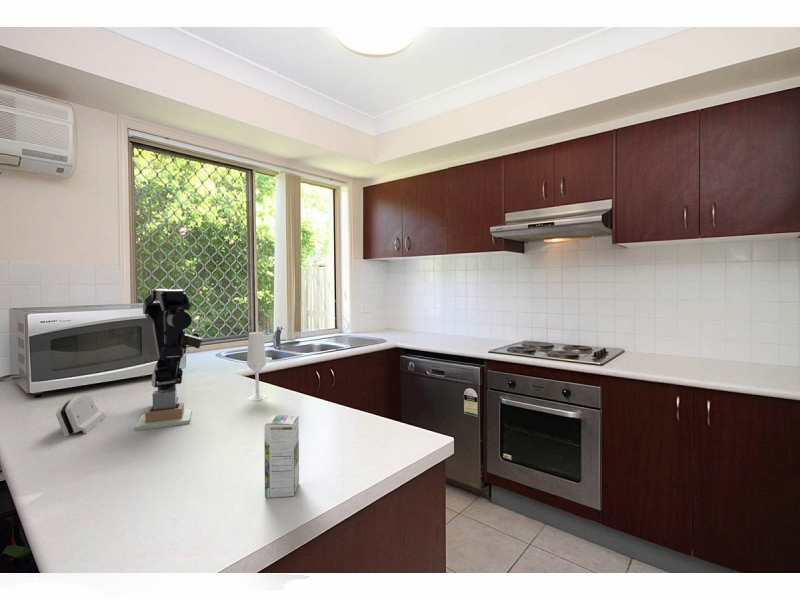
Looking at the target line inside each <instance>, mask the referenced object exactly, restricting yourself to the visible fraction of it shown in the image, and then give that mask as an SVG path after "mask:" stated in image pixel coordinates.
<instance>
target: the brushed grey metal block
mask: <svg viewBox="0 0 800 600" xmlns="http://www.w3.org/2000/svg"><path fill="white" fill-rule="evenodd" d="M151 395H152V406H153V411H159V410H168V409H177V403H178V400H177V397H178V396H177V395H178V393H177V388H176V389H170V390H159V391H158V390H154V391H153V392H152V394H151Z"/></svg>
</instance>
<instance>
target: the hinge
mask: <svg viewBox="0 0 800 600" xmlns="http://www.w3.org/2000/svg"><path fill="white" fill-rule="evenodd" d="M55 416H56V419H57V421H58V423H59V426H60V429H61V431H62V433H63V435H64V437H69V436H71V435H72V434H76V433H79V432H81V431H82V432H83V434H84V435H86V434H85V433H87V432H88V433H89V432H91V431H92V430H93V429H94V428H95V427H96V426H97V424H98V423H99V422H100V421H101V420H102V419H103V420H105V419H106V418H107V415H106V413H105V412H104V411H101V410H99V409H98V406H97V405H96V404H95V401H94V399H93V397H92V396H91V395H86V394H84V395H79V396H76V397H74V398H70V399H68V400H66V401H65V402H63V403H62V404H61V405H60V406H59V408H58V409H57V410H56V413H55ZM105 417H106V418H105ZM104 418H105V419H104ZM103 420H102V421H103ZM102 421H101V422H102ZM101 422H100V423H101ZM98 425H99V424H98ZM94 426H95V427H94ZM93 427H94V428H93ZM92 428H93V429H92ZM91 429H92V430H91ZM88 433H87V434H88Z"/></svg>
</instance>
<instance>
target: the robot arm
mask: <svg viewBox="0 0 800 600" xmlns="http://www.w3.org/2000/svg"><path fill="white" fill-rule="evenodd" d="M190 308H191V302H190V299H189V297H188V295H187V293H186V292H185V291H184V290H183V289H167V288H153V289H151V291H150V294H149V295H147V297H145V298H144V300H143V304H142V314H143V315H144V316H145V320H146V321H147V322H148V323H149V324H150V325H151V326H152V332H153V339H154V343H155V349H156V356H157V361H156V363H155V365H154V369H153V372H152V375H151V380H150V381H151V386H152V387H153V388H157V391H159V390H170V389H176V390H177V385H180V384H182V381H183V372H184V371H183V370H182V367H181V366H180V365H181V360H182V358H183V357H184V353H186V351H187V349H188V346H189V347H194V348H195V349H200V348H201V344H202V342H203V337H200V334H199V332H194V333H193V334H192V335H191V334H187V333H186V329H188V328H189V327H190V326H191V324H192V316H191V315H190V314H189V313H188V312H186V311H189V310H190ZM178 399H179V397H178V396H177V401H178Z"/></svg>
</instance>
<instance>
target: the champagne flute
mask: <svg viewBox="0 0 800 600" xmlns="http://www.w3.org/2000/svg"><path fill="white" fill-rule="evenodd" d="M265 348H266V347H265V340H264V332H262V331H253V332H249V333H248V343H247V356H246V358H247V359H246V365H247V367H248V368H249V369H250V370H252V372H254V373H255V374H254V376H255V393H254V394H252V395H250V397H248V398H247V400H248V399H249V400H248V401H252V400H256V401H262V400H261V399H263V400H265V399H264V398H266V396H267V395H265V394H262V393H261V392H260V381H259V380H260V378H259V375H260V374H259V372H260V371H262V369H264V367H265V366H266V364H267V357H266V349H265ZM266 399H267V398H266Z"/></svg>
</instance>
